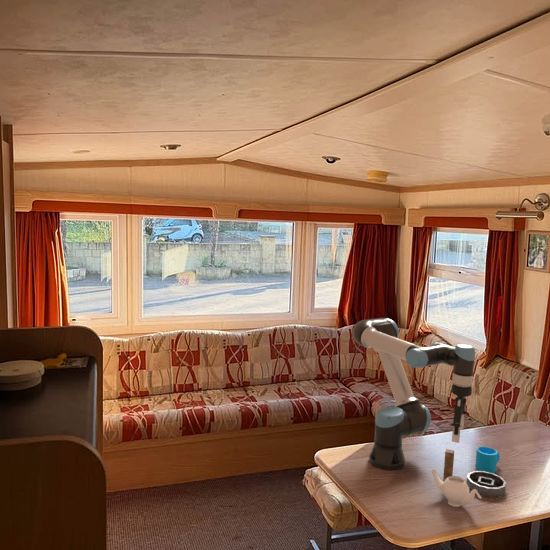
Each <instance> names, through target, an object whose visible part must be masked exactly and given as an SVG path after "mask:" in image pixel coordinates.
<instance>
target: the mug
mask: <svg viewBox="0 0 550 550" xmlns="http://www.w3.org/2000/svg"><path fill="white" fill-rule="evenodd" d="M475 453H476V455H475V467H476V468H475V470H476V471H478V470H479V471H485V472H489V473H494V474H496V472H497V464H498V462H499V461H500V454H499V451H497V450H496V449H494V448H493V447H489V446H478V447H477V448H476V452H475Z"/></svg>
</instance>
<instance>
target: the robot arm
mask: <svg viewBox="0 0 550 550" xmlns="http://www.w3.org/2000/svg"><path fill="white" fill-rule="evenodd" d="M399 334H400V330H399V326H398V325H397V323H396V322H395V321H394V320H392V319H390V318H389V317H379V318H370V319H362V320H359V321H357V322H356V323H355V325H354V326H353V328H352V338H353V340H354V342H355V343H357V345H359V346H361V347H363V348H366V349H371V348H372V349H373V351H374V352H377V353H378V356H379V359H380V361H381V365H382V368H383V370H384V373H385V376H386V379H387V381H388V384H389V388H390V390H391V393H392V396H393V399H394V401H395V403H394V406H393V405H391V406H390V405H389V406H383V407H380V408H379V409H378V410H377V411H376V412H375V418H374V442H373V446H372V448H371V451H370V453H369V456H368V458H369V459H368V462H369V463H370V465H371V466H373V467H374V468H377V469H378V470H379V469H380V470H383V471H392V472H393V471H399V470H400V471H401V470H402V469H404V468H405V466H406V459H405V458H406V457H405V454H404V450H403V438H406V437H410V436H413V435H419V434H421V433H424V432H426V431H427V430H428V429H429V428H430V425H431V422H432V415H431V413H430V410H429V408H428V407H427V406H426V405H424V404H421V401H420V399H419V398H417V397H416V396H415V395H414V393H413V390H412V386H411V384H410V381H409V378H408V376H407V373H406V371H405V368H404V366H403V362H402V360H403V361H405V362H406V364H407V365H409V367H411V368H413V369H417V368H418V369H420V368H424V367H430V366H436V365H442V364H443V365H448V366H450V367H452V368H453V369H452V378H451V379H452V381H451V382H452V384H451V393H452V394H453V395H455V399H454V403H455V404H454V415H453V421H452V423H451V424H450V426H451V427H452V435H451V442H452V443H458V444H460V438H461V431H464V426H465V425H464V424H465V415H467V413H468V412H467V410H466V403H467V398H466V397H471V396H472V394H473V393H472V391H473V386H472V385H473V381H474V380H475V377H474V369H475V361H476V349H475V347H474V346H472V345H470V344H463V343H461V344H460V343H459V344H456V345H455V346H452V345H448V344H445V343H444V342H437V341H436V342H433V343H432V344H430V345H429V346H420V345H418V344H414V343H411V342H409V341H406V340H403V339H401V338H399V336H400V335H399Z"/></svg>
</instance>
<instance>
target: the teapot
mask: <svg viewBox="0 0 550 550" xmlns="http://www.w3.org/2000/svg"><path fill="white" fill-rule="evenodd" d="M431 474H432V476H433V480H434V482H435V484H436V485H435V486H436V487H437V488H438V490H439V492H440V493H441V494H442V496H444V497H445V498H446V499H447V504H448V505H449V506H451V507H453V508H456V507H457V508H459V507H461V506H462V505H464V506H465V505H468V504H470V503H471V502H472V501H473V500H474V499H475V497H476V496H477V498H479V499H482V495H479V493H478V492H477V490H476V489H473V490H472V491H471V490H470V489H469V487H468V485H467V480H465V479H464V478H462V477H460V476H455V475H453V476H450V477H448V478H446V480H445V481H444V482H443V480H442V479H441V478H440V476H439V474H438V472H437V470H436V469H432V470H431ZM475 495H476V496H475Z"/></svg>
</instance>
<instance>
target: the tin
mask: <svg viewBox="0 0 550 550" xmlns="http://www.w3.org/2000/svg"><path fill="white" fill-rule="evenodd" d="M466 483H467V485H468V487H469V491H470V492H471V491H472V490H473V489H476V490H477V492H478V493H479V495H480V496H481V497H485V498H486V497H487V498H500V497H502V496H505V493H506V486H507V481H506V480H505V479H504V478H503V477H502V476H500V475H497V474H496V473H489V472H485V471H478V470H474V471H471V472H468V473H467V476H466Z"/></svg>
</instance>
